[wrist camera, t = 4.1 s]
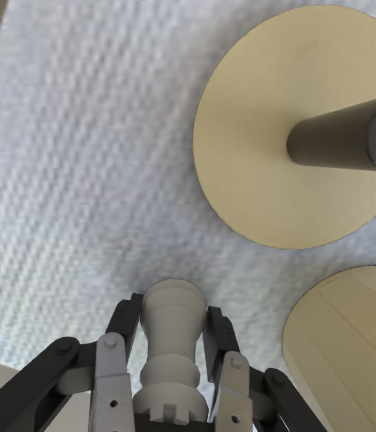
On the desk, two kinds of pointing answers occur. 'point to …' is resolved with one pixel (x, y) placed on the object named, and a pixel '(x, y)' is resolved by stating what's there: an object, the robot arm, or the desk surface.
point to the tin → (336, 350)
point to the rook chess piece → (172, 353)
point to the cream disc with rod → (293, 129)
